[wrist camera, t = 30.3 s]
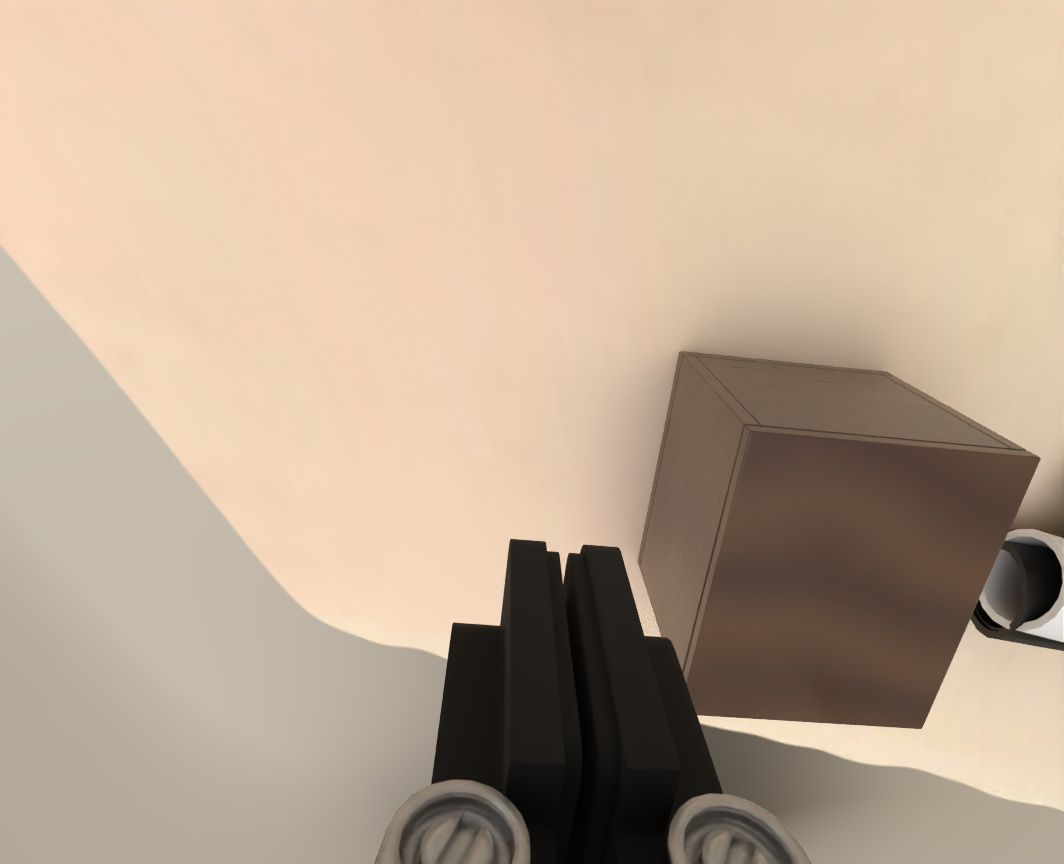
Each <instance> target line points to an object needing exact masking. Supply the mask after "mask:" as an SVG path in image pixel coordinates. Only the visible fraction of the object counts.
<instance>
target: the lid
mask: <svg viewBox="0 0 1064 864" xmlns="http://www.w3.org/2000/svg"><path fill="white" fill-rule="evenodd" d="M1039 461H1040V457H1038V456H1036V455H1034V454H1033V453H1031V452H1029V451H1020V450H1009V449H998V448H987V447H976V446H965V445H955V444H944V443H933V442H922V441H911V440H900V439H890V438H879V437H868V436H857V435H846V434H836V433H825V432H814V431H803V430H792V429H781V428H771V427H760V426H749V425H746V426H745V428H744V432H743V436H742V440H741V444H740V448H739V452H738V456H737V460H736V464H735V468H734V472H733V476H732V480H731V484H730V488H729V492H728V496H727V500H726V504H725V508H724V512H723V516H722V520H721V524H720V528H719V533H718V537H717V541H716V545H715V549H714V553H713V557H712V561H711V565H710V569H709V573H708V577H707V581H706V585H705V589H704V593H703V597H702V601H701V605H700V609H699V613H698V617H697V621H696V625H695V629H694V633H693V637H692V641H691V645H690V649H689V653H688V658H687V662H686V666H685V670H684V674H683V675H684V678H685V681H686V684H687V687H688V690H689V693H690V696H691V699H692V702H693V705H694V708H695V711H696V714H697V715H704V716H720V717H736V718H752V719H768V720H785V721H801V722H817V723H833V724H849V725H865V726H882V727H898V728H914V729H922V727H923V725H924V723H925V720H926V718H927V716H928V714H929V711H930V709H931V707H932V704H933V702H934V700H935V698H936V695H937V693H938V691H939V689H940V686H941V684H942V682H943V679H944V677H945V675H946V673H947V670H948V668H949V666H950V664H951V661H952V659H953V657H954V654H955V652H956V650H957V648H958V645H959V643H960V641H961V639H962V636H963V634H964V632H965V629H966V627H967V625H968V623H969V620H970V618H971V616H972V614H973V611H974V609H975V607H976V605H977V602H978V600H979V598H980V595H981V593H982V591H983V589H984V586H985V584H986V582H987V580H988V577H989V575H990V573H991V570H992V568H993V566H994V564H995V561H996V559H997V557H998V555H999V552H1000V550H1001V548H1002V545H1003V543H1004V541H1005V539H1006V536H1007V534H1008V532H1009V530H1010V527H1011V525H1012V523H1013V520H1014V518H1015V516H1016V514H1017V511H1018V509H1019V507H1020V505H1021V502H1022V500H1023V498H1024V495H1025V493H1026V491H1027V489H1028V486H1029V484H1030V482H1031V480H1032V477H1033V475H1034V473H1035V470H1036V468H1037V466H1038V464H1039Z"/></svg>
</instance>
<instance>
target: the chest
mask: <svg viewBox="0 0 1064 864" xmlns="http://www.w3.org/2000/svg"><path fill="white" fill-rule="evenodd" d="M746 425H749V426H760V427H771V428H781V429H792V430H803V431H814V432H825V433H836V434H846V435H857V436H868V437H879V438H890V439H900V440H911V441H922V442H933V443H944V444H955V445H965V446H976V447H987V448H998V449H1009V450H1020V451H1027V450H1025V449H1024V448H1022V447H1020V446H1018V445H1017V444H1015V443H1013V442H1011V441H1009V440H1008V439H1006V438H1004V437H1002V436H1000V435H999V434H997V433H995V432H993V431H991V430H990V429H988V428H986V427H984V426H982V425H981V424H979V423H977V422H975V421H974V420H972V419H970V418H968V417H966V416H965V415H963V414H961V413H959V412H957V411H956V410H954V409H952V408H950V407H948V406H947V405H945V404H943V403H941V402H939V401H938V400H936V399H934V398H932V397H931V396H929V395H927V394H925V393H923V392H922V391H920V390H918V389H916V388H914V387H913V386H911V385H909V384H907V383H905V382H904V381H902V380H900V379H898V378H896V377H895V376H893V375H891V374H890V373H888V372H881V371H871V370H861V369H851V368H841V367H831V366H821V365H811V364H800V363H790V362H780V361H770V360H760V359H750V358H740V357H730V356H720V355H710V354H700V353H690V352H680V353H679V358H678V363H677V368H676V373H675V378H674V383H673V388H672V393H671V398H670V403H669V408H668V413H667V418H666V423H665V428H664V433H663V438H662V443H661V448H660V453H659V458H658V463H657V468H656V473H655V478H654V483H653V488H652V493H651V498H650V503H649V508H648V513H647V518H646V523H645V528H644V533H643V538H642V543H641V548H640V553H639V558H638V564H639V567H640V570H641V573H642V576H643V579H644V582H645V585H646V589H647V592H648V595H649V598H650V601H651V605H652V608H653V611H654V614H655V617H656V620H657V624H658V627H659V630H660V633H661V636H662V637H666V638H668V639H669V640H671V642H672V644H673V646H674V648H675V651H676V654H677V657H678V660H679V663H680V666H681V669H682V672H683V674H684V670H685V666H686V662H687V658H688V653H689V649H690V645H691V641H692V637H693V633H694V629H695V625H696V621H697V617H698V613H699V609H700V605H701V601H702V597H703V593H704V589H705V585H706V581H707V577H708V573H709V569H710V565H711V561H712V557H713V553H714V549H715V545H716V541H717V537H718V533H719V528H720V524H721V520H722V516H723V512H724V508H725V504H726V500H727V496H728V492H729V488H730V484H731V480H732V476H733V472H734V468H735V464H736V460H737V456H738V452H739V448H740V444H741V440H742V436H743V432H744V428H745V426H746Z"/></svg>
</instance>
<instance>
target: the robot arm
mask: <svg viewBox="0 0 1064 864" xmlns="http://www.w3.org/2000/svg"><path fill="white" fill-rule="evenodd" d="M375 864H811V862H810V860H809V858H808V857H807V855H806V853H805V851H804V850H803V848H802V847H801V846H800V844H799V843H798V841H797V840H796V839H795V837H794V836H793V835H792V833H791V832H790V830H788V828H786V827H785V826H784V825H783V824H782V823H781V822H780V821H779V820H778V819H777V818H775V817H774V816H773V815H772V814H771V813H769V812H767V811H766V810H764V809H763V808H761V807H759V806H758V805H756V804H754V803H752V802H751V801H748V800H745V799H742V798H739V797H736V796H733V795H730V794H723V792H722V789H721V786H720V783H719V780H718V777H717V774H716V771H715V768H714V765H713V762H712V759H711V756H710V753H709V750H708V747H707V744H706V741H705V738H704V735H703V732H702V729H701V726H700V723H699V720H698V717H697V714H696V711H695V708H694V705H693V702H692V699H691V696H690V693H689V690H688V687H687V684H686V681H685V678H684V675H683V672H682V669H681V666H680V663H679V660H678V657H677V654H676V651H675V648H674V646H673V644H672V642H671V640H669V639H668V638H666V637H652V636H644V633H643V630H642V626H641V623H640V619H639V615H638V612H637V608H636V605H635V601H634V597H633V594H632V590H631V587H630V583H629V579H628V576H627V572H626V569H625V565H624V561H623V558H622V554H621V551H620V549H619V548H618V547H607V546H594V545H583V546H582V548H581V552H580V554H576V553H569V554H568V558H567V563H566V570H565V576H564V583H563V581H562V573H561V564H560V556H559V552H550V551H547V548H546V542H543V541H530V540H518V539H510V544H509V551H508V560H507V569H506V578H505V587H504V597H503V606H502V615H501V624H500V626H493V625H479V624H465V623H453V625H452V631H451V639H450V646H449V654H448V661H447V670H446V677H445V685H444V692H443V700H442V707H441V715H440V723H439V730H438V738H437V745H436V754H435V760H434V768H433V776H432V783H431V785H429V786H427V787H426V788H424V789H422V790H420V791H418V792H416V793H415V794H413V795H412V796H411V797H410V798H409V799H408V800H407V801H406V802H405V803H404V804H403V805H402V806H401V807H400V808H399V809H398V810H397V811H396V813H395V815H394V816H393V818H392V820H391V822H390V824H389V826H388V828H387V830H386V832H385V835H384V838H383V841H382V843H381V846H380V849H379V852H378V855H377V858H376V861H375Z"/></svg>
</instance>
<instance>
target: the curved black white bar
mask: <svg viewBox="0 0 1064 864" xmlns="http://www.w3.org/2000/svg"><path fill="white" fill-rule="evenodd" d="M970 619H971V620H972V622H973V624H974V625H975V627H976V628H977V630H978V631H980V632H981V633H982V634H984V635H985V636H986V637H989V638H994V639H1000V640H1005V641H1011V642H1016V643H1022V644H1028V645H1033V646H1039V647H1044V648H1050V649H1055V650H1061V651H1064V538H1062V537H1058V536H1055V535H1052V534H1048V533H1045V532H1042V531H1038V530H1035V529H1016V530H1013V531H1010V532H1008V534H1007V536H1006V539H1005V541H1004V543H1003V545H1002V548H1001V550H1000V552H999V555H998V557H997V559H996V561H995V564H994V566H993V568H992V570H991V573H990V575H989V577H988V580H987V582H986V584H985V586H984V589H983V591H982V593H981V595H980V598H979V600H978V602H977V605H976V607H975V609H974V611H973V614H972V616H971V618H970Z"/></svg>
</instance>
